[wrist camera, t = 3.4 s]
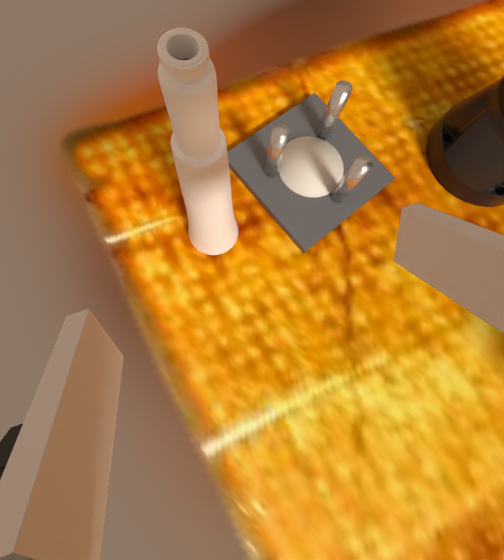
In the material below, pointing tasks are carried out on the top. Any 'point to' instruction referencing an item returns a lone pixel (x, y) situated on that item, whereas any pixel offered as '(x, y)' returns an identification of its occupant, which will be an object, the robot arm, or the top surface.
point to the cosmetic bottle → (197, 139)
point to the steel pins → (323, 132)
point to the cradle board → (306, 173)
